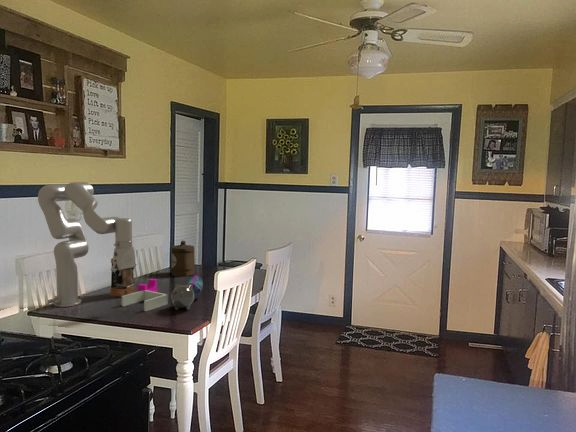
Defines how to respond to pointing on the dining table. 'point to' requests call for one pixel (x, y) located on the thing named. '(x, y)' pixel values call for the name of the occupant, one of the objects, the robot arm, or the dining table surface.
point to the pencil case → (196, 285)
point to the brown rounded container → (183, 260)
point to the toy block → (149, 286)
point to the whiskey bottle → (120, 290)
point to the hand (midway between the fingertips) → (124, 282)
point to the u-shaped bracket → (146, 299)
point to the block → (126, 277)
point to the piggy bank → (182, 296)
